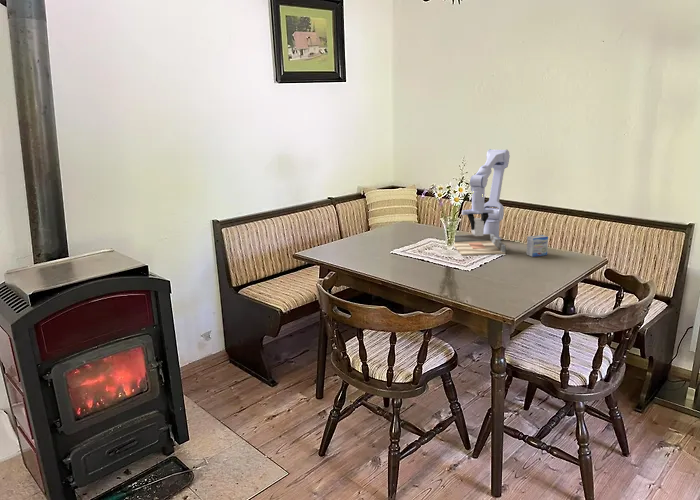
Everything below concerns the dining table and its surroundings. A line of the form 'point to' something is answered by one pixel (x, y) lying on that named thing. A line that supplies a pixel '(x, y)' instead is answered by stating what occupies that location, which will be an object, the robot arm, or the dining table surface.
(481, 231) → the aluminium block
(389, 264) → the dining table surface
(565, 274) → the dining table surface
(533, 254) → the medicine box
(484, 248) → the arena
